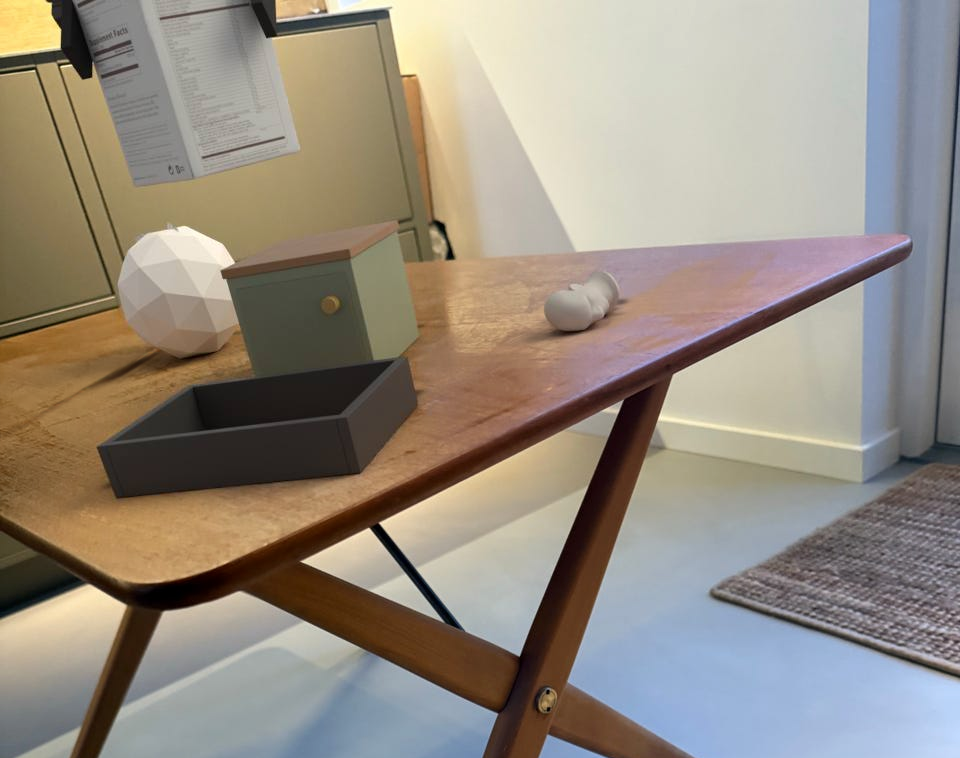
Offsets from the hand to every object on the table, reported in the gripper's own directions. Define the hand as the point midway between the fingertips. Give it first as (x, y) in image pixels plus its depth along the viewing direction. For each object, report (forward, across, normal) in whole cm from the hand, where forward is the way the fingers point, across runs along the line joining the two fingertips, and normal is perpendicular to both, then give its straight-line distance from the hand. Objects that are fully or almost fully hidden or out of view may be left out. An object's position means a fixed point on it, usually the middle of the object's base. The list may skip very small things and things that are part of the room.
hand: (169, 42), depth 69 cm
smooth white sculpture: (+5, -25, -34) cm, 43 cm away
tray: (+22, 0, -17) cm, 28 cm away
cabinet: (+4, -1, -35) cm, 35 cm away
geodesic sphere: (-8, +19, -48) cm, 52 cm away
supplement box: (+4, 0, -8) cm, 9 cm away
